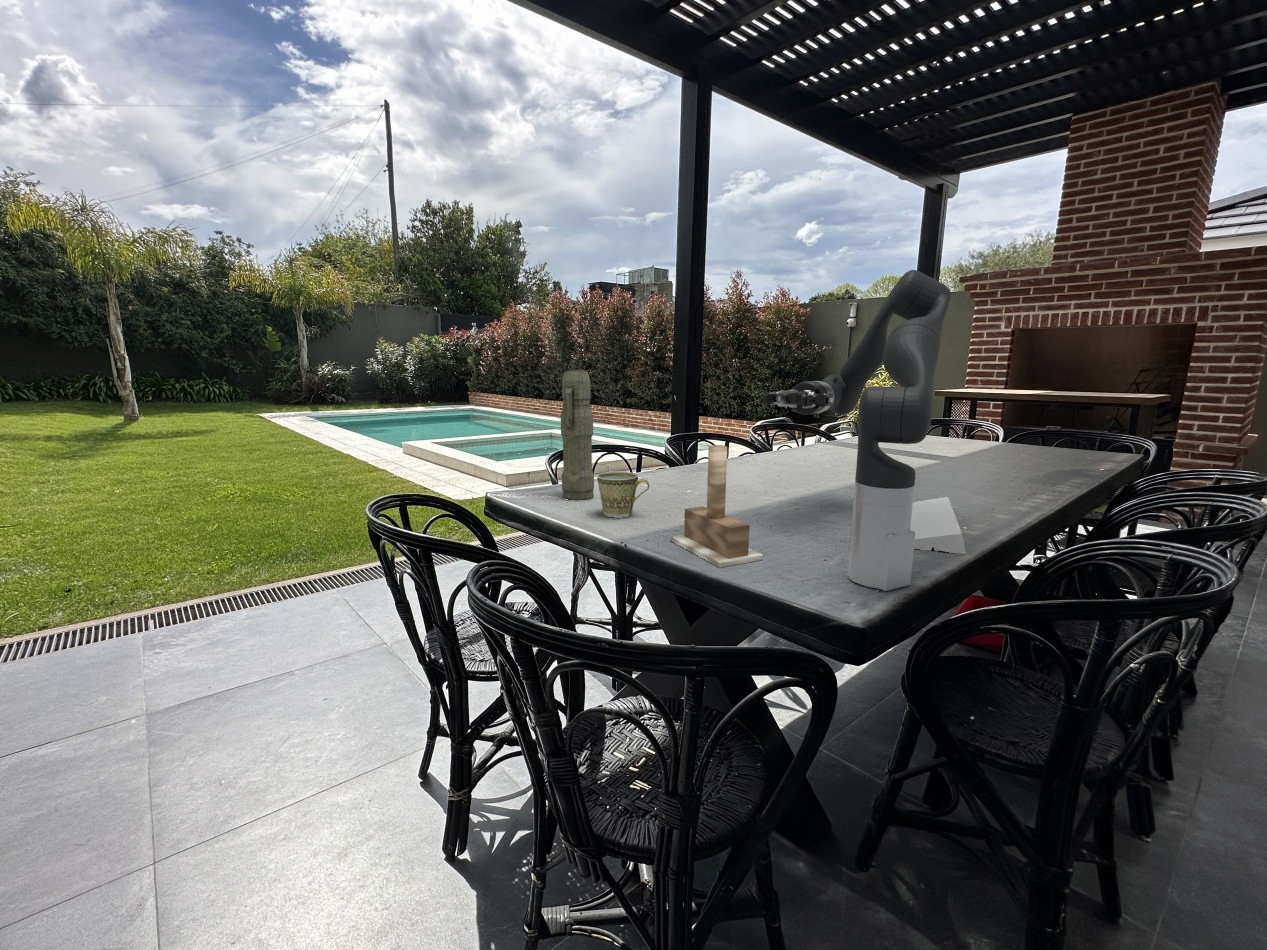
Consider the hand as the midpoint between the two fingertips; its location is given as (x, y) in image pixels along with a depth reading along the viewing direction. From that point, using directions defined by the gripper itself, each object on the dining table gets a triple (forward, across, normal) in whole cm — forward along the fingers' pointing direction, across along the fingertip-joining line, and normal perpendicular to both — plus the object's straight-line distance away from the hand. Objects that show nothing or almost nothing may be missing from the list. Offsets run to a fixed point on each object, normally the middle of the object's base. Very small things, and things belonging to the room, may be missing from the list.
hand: (783, 400), depth 122 cm
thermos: (+2, -58, +29) cm, 65 cm away
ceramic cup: (+9, -36, +30) cm, 47 cm away
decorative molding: (-25, +26, +30) cm, 47 cm away
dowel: (+18, -5, +22) cm, 29 cm away
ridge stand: (+18, -5, +29) cm, 35 cm away
